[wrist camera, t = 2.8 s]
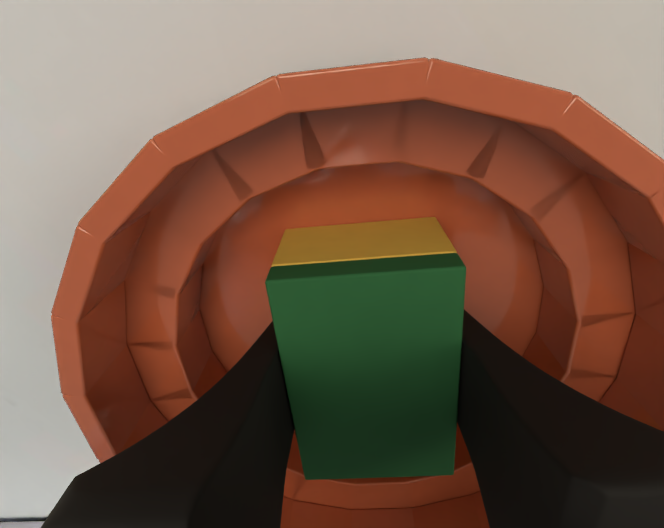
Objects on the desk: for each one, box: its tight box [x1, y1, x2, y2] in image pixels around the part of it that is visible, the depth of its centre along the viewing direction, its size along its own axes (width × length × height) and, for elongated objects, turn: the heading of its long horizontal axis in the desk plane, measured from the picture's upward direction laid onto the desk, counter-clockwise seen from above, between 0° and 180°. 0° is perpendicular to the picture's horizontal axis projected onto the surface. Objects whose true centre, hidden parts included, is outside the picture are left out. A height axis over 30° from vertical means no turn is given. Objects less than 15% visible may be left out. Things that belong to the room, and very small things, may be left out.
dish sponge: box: [265, 217, 466, 480], centre depth 12 cm, size 4×7×3 cm, turn 6°
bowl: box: [51, 57, 664, 528], centre depth 11 cm, size 15×15×4 cm
